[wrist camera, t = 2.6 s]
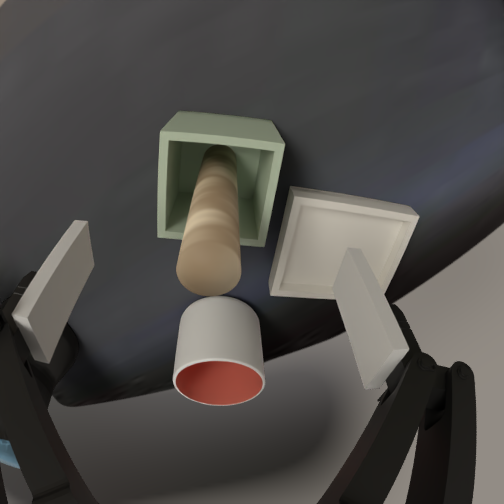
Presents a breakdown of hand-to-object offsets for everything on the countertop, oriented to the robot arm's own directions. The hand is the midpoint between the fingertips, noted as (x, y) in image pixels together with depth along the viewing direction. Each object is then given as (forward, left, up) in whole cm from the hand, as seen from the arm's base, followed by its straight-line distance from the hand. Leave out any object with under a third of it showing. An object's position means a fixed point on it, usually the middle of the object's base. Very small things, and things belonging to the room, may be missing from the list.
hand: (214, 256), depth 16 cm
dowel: (0, 0, -15) cm, 15 cm away
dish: (+14, -8, -16) cm, 22 cm away
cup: (+2, -21, -16) cm, 26 cm away
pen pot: (0, 0, -16) cm, 16 cm away
